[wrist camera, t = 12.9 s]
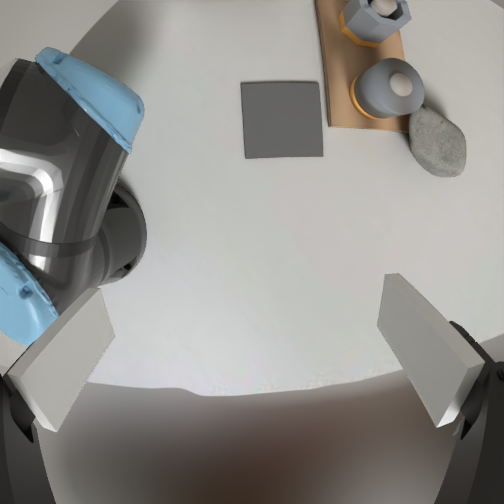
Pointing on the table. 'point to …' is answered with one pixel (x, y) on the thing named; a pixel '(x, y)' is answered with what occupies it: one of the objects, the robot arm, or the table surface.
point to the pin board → (351, 66)
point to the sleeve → (371, 22)
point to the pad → (282, 120)
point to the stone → (437, 143)
